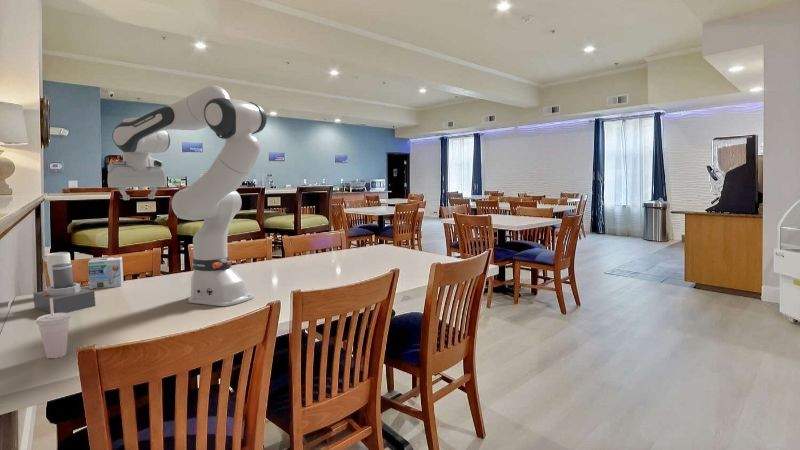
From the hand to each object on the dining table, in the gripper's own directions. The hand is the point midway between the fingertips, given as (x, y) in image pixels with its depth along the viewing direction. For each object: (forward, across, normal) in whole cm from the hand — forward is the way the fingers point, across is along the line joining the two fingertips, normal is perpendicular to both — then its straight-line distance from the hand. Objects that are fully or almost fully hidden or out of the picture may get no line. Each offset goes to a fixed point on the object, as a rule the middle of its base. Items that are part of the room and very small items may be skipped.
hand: (139, 199), depth 163 cm
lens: (+29, -27, -1) cm, 40 cm away
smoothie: (+34, -48, -43) cm, 73 cm away
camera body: (+34, -27, -1) cm, 43 cm away
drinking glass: (+34, -20, +17) cm, 43 cm away
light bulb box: (+34, -5, +16) cm, 38 cm away
